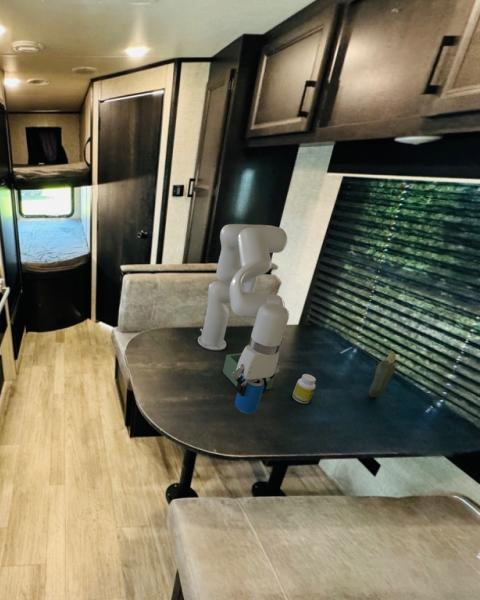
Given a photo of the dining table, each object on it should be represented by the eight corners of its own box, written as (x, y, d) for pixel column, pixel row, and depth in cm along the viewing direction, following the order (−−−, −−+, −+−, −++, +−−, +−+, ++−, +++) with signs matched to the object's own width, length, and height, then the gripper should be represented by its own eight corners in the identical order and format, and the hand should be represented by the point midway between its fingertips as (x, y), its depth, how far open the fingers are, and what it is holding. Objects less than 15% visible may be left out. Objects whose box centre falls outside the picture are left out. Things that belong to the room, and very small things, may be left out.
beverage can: (253, 418, 98) (263, 389, 93) (232, 409, 102) (239, 380, 96) (257, 406, 103) (267, 377, 97) (236, 397, 106) (244, 369, 101)
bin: (222, 372, 129) (226, 354, 126) (249, 368, 131) (254, 351, 127) (241, 392, 118) (246, 374, 114) (271, 388, 120) (277, 370, 116)
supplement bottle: (309, 406, 111) (317, 384, 107) (291, 399, 114) (299, 378, 110) (310, 397, 115) (318, 376, 111) (292, 391, 118) (300, 370, 114)
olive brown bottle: (380, 403, 113) (404, 357, 104) (365, 399, 114) (388, 354, 106) (376, 395, 116) (399, 350, 108) (361, 392, 118) (383, 347, 109)
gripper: (280, 334, 96) (266, 380, 104) (229, 340, 93) (218, 387, 101) (300, 348, 89) (282, 396, 97) (245, 355, 87) (232, 403, 94)
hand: (249, 391), depth 99 cm, fingers closed on beverage can, 6 cm apart
